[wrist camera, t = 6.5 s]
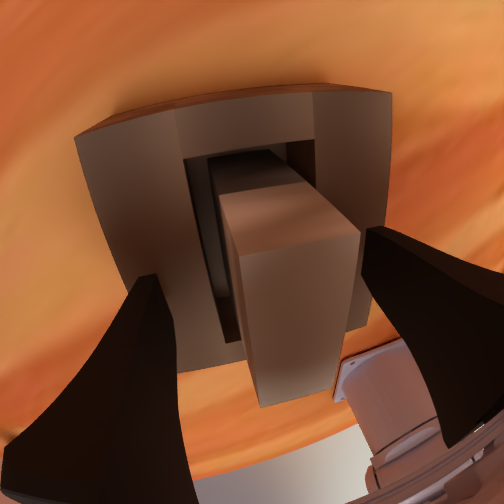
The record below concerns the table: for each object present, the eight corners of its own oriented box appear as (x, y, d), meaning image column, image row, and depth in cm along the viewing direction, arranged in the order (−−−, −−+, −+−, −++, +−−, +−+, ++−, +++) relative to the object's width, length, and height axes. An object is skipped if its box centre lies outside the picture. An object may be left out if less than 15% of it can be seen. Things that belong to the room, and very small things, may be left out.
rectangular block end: (269, 148, 12) (360, 232, 6) (276, 269, 15) (332, 387, 9) (206, 158, 11) (239, 256, 6) (226, 279, 15) (260, 408, 9)
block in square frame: (328, 83, 12) (392, 92, 8) (328, 269, 18) (366, 325, 14) (110, 116, 11) (73, 137, 7) (167, 305, 17) (169, 374, 13)
